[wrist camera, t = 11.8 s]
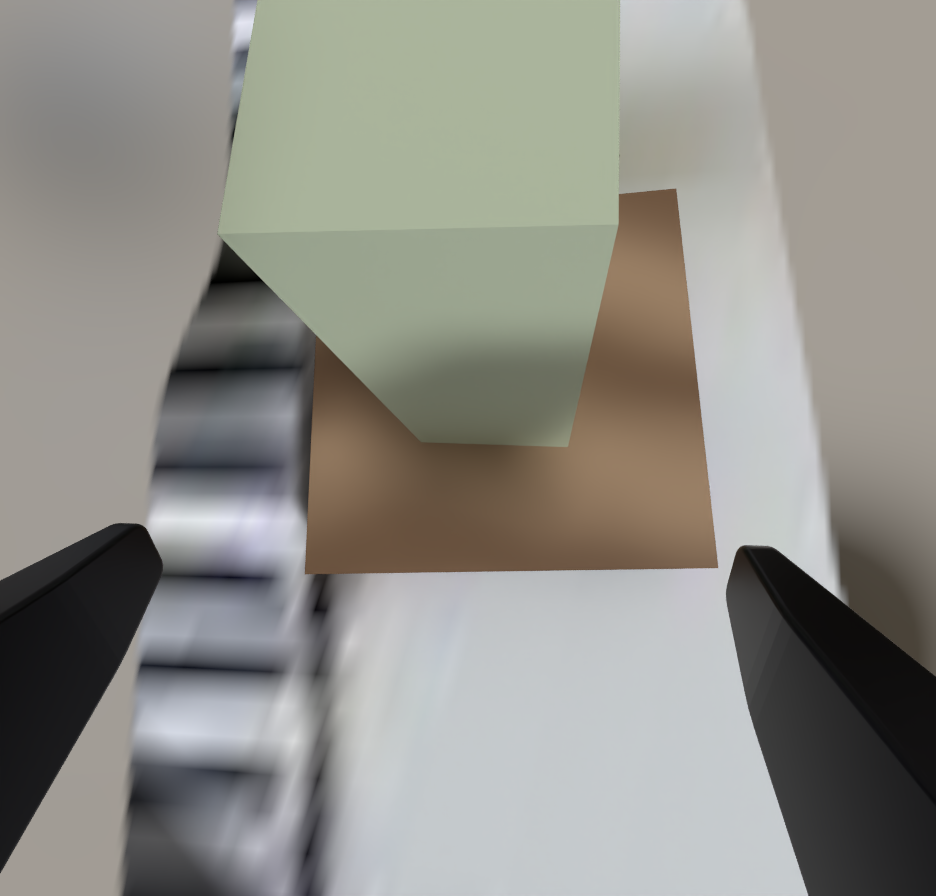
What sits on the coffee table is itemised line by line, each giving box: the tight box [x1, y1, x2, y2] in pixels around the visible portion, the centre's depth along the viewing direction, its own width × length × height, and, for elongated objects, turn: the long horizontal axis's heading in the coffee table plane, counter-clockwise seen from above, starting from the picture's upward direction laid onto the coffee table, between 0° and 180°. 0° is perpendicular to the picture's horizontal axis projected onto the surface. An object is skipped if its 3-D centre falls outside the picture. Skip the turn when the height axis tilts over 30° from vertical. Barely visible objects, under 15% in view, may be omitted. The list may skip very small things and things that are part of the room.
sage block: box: [217, 0, 620, 447], centre depth 12 cm, size 4×4×11 cm
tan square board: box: [305, 189, 718, 574], centre depth 19 cm, size 12×12×3 cm
